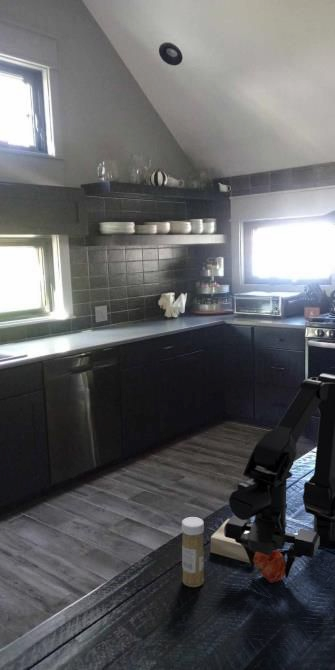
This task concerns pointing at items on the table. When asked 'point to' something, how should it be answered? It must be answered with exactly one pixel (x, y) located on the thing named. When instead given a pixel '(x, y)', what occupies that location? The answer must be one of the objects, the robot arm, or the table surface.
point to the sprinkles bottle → (192, 551)
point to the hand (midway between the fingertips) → (270, 572)
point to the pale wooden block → (227, 545)
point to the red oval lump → (271, 565)
